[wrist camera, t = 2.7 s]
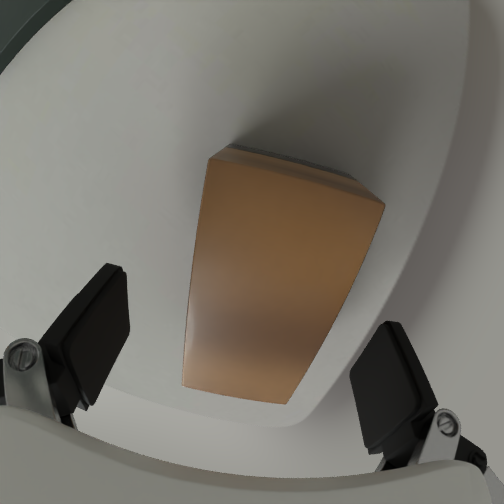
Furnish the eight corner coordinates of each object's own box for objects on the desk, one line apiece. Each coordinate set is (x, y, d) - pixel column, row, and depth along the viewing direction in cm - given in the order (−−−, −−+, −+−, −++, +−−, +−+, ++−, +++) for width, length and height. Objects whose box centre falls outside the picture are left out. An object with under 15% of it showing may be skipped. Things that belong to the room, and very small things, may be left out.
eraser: (229, 143, 10) (208, 157, 7) (349, 174, 10) (387, 204, 7) (198, 329, 15) (181, 386, 11) (284, 346, 15) (286, 405, 12)
